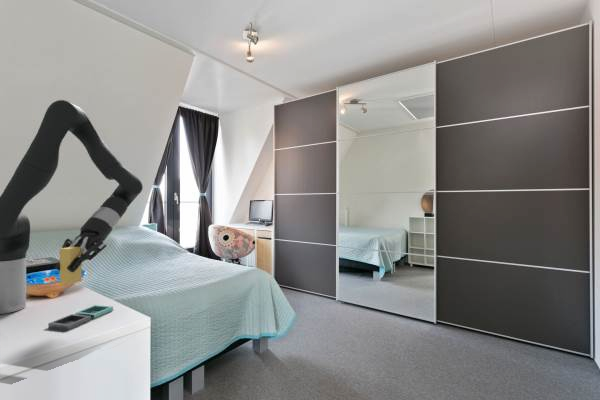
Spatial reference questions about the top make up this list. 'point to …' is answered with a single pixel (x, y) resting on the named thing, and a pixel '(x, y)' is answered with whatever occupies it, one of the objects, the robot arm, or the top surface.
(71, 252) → the peg
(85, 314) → the base
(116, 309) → the top surface
